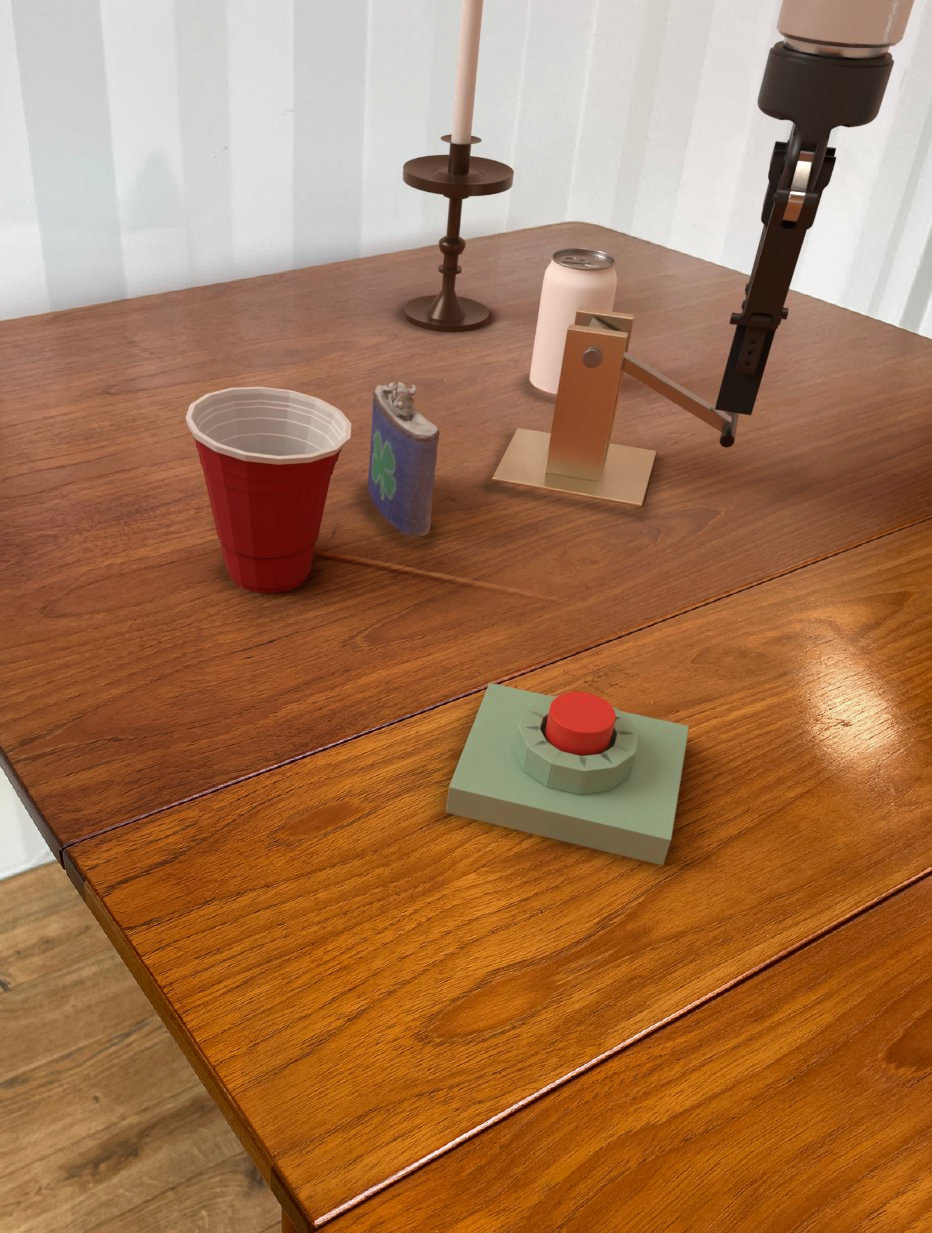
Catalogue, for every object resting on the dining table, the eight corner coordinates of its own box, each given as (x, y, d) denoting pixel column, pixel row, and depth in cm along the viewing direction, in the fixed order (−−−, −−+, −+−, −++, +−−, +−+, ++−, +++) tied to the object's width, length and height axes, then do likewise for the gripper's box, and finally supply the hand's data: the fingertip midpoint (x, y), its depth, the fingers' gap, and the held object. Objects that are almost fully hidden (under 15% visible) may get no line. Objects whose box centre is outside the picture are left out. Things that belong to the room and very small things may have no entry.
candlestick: (444, 293, 125) (477, -105, 101) (517, 321, 119) (570, -94, 95) (373, 315, 119) (391, -102, 96) (447, 346, 113) (485, -90, 90)
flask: (435, 544, 84) (447, 407, 77) (399, 550, 83) (408, 412, 76) (390, 488, 90) (398, 357, 83) (356, 493, 90) (361, 361, 83)
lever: (728, 428, 89) (747, 403, 88) (723, 457, 85) (743, 432, 84) (579, 336, 88) (596, 309, 87) (567, 361, 84) (585, 334, 83)
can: (590, 410, 103) (615, 274, 95) (521, 398, 104) (540, 263, 96) (601, 383, 107) (626, 251, 99) (535, 373, 109) (554, 242, 101)
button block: (680, 753, 67) (696, 701, 64) (662, 869, 60) (679, 815, 57) (485, 710, 69) (492, 658, 67) (445, 815, 62) (451, 762, 60)
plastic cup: (359, 611, 77) (366, 448, 69) (201, 621, 76) (190, 456, 68) (335, 532, 85) (338, 377, 77) (192, 540, 84) (180, 383, 76)
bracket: (653, 463, 95) (688, 310, 87) (638, 518, 88) (675, 357, 80) (515, 440, 98) (536, 289, 89) (490, 491, 91) (510, 332, 82)
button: (614, 723, 63) (620, 699, 62) (605, 763, 61) (611, 738, 59) (551, 710, 64) (556, 685, 63) (539, 748, 61) (544, 723, 60)
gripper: (776, 22, 75) (691, 369, 91) (767, 55, 66) (675, 435, 82) (893, 33, 73) (786, 384, 89) (902, 68, 64) (781, 453, 80)
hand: (733, 408), depth 85 cm, fingers closed
